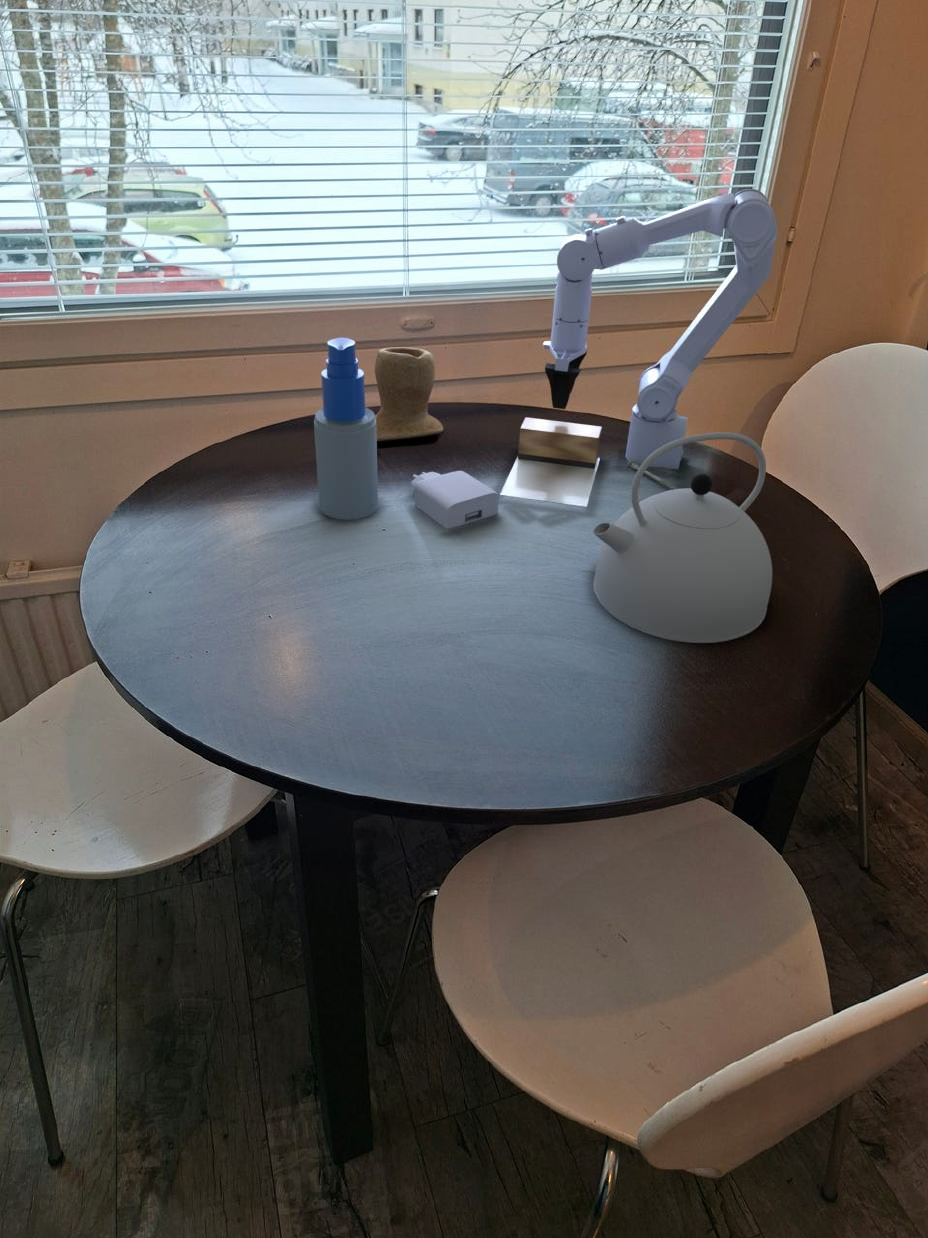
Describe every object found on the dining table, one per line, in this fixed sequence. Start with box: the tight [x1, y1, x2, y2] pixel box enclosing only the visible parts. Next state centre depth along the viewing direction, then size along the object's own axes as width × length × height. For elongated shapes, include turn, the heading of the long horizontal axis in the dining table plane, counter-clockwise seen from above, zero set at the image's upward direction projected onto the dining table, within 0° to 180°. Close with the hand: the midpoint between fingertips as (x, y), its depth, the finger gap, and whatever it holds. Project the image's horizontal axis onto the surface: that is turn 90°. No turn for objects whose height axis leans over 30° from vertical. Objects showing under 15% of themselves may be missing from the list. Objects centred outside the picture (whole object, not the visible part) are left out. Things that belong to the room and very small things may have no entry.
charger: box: [409, 470, 500, 530], centre depth 133 cm, size 5×9×15 cm
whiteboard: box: [499, 456, 601, 508], centre depth 143 cm, size 15×20×1 cm
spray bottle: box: [313, 337, 379, 520], centre depth 126 cm, size 9×9×25 cm
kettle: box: [592, 431, 773, 644], centre depth 110 cm, size 25×23×22 cm
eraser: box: [517, 416, 603, 469], centre depth 147 cm, size 13×5×6 cm, turn 77°
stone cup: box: [374, 346, 444, 442], centre depth 153 cm, size 15×12×15 cm
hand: (562, 399), depth 147 cm, fingers open, 7 cm apart
